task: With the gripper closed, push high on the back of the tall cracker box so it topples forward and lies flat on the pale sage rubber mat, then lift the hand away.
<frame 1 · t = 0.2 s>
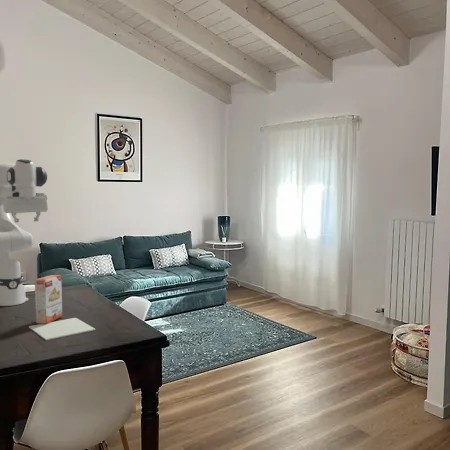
hand: (26, 221, 228), 47 cm above the table, tool pointing down, fingers open, 8 cm apart
cracker box: (50, 320, 223), on the table, touching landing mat
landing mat: (61, 328, 212), on the table
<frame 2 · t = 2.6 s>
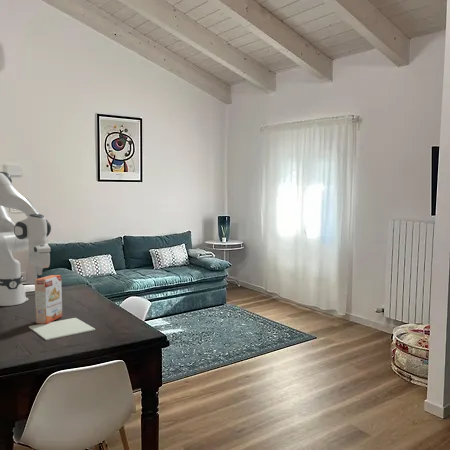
hand: (39, 274, 232), 20 cm above the table, tool pointing down, fingers closed
nothing on the table moved.
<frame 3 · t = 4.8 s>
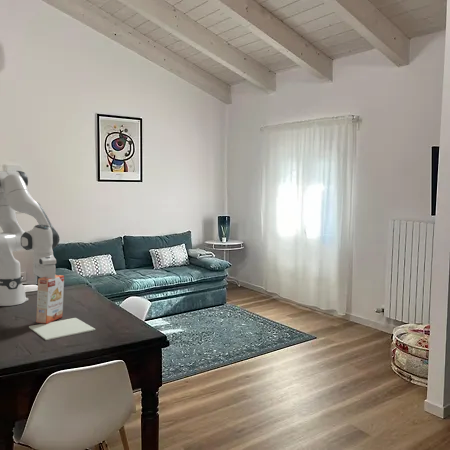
hand: (44, 286, 227), 15 cm above the table, tool pointing down, fingers closed
cracker box: (49, 320, 223), on the table, touching gripper, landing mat
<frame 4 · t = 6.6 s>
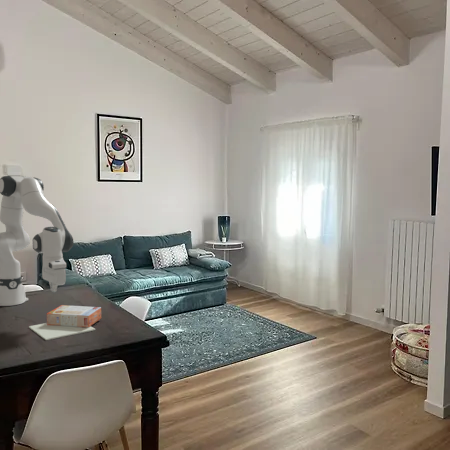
hand: (53, 291, 218), 15 cm above the table, tool pointing down, fingers closed
cracker box: (53, 314, 222), point 3 cm above the table, touching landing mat
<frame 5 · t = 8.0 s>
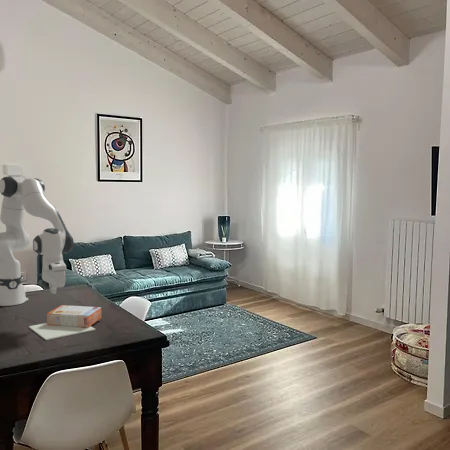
hand: (53, 293, 218), 15 cm above the table, tool pointing down, fingers closed
nothing on the table moved.
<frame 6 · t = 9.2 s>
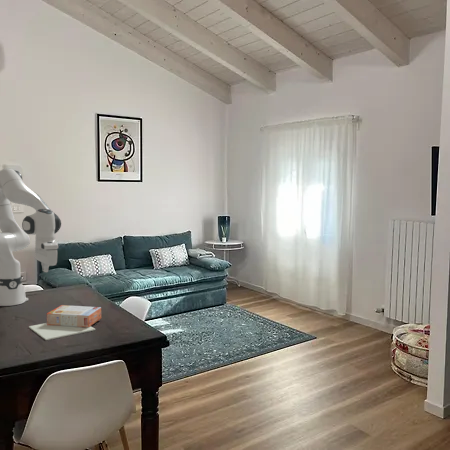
hand: (45, 271, 225), 23 cm above the table, tool pointing down, fingers closed
nothing on the table moved.
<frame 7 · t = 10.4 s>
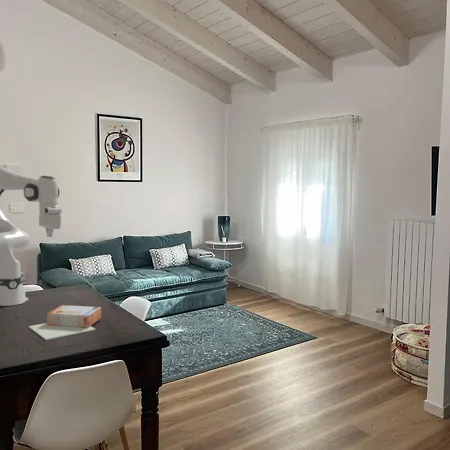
hand: (49, 236, 232), 39 cm above the table, tool pointing down, fingers closed
nothing on the table moved.
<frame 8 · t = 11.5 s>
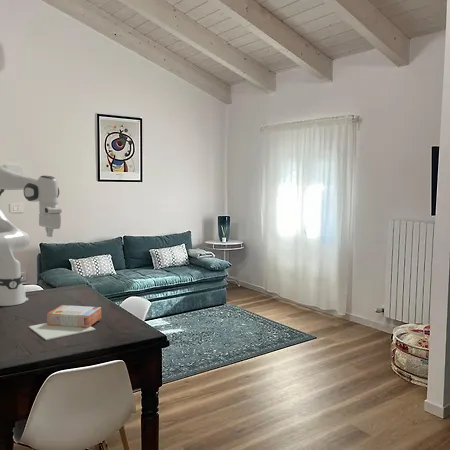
hand: (49, 236, 232), 39 cm above the table, tool pointing down, fingers closed
nothing on the table moved.
at the end: cracker box tilted 89°; cracker box touching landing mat; cracker box inside the target area (2.7 cm from its centre), point 3.4 cm above the table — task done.
